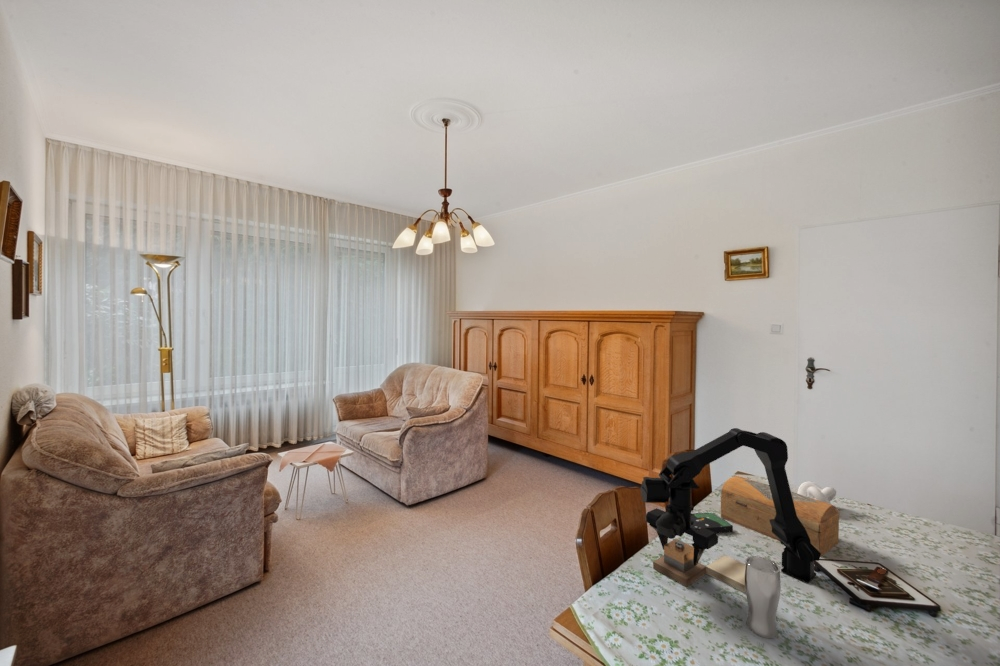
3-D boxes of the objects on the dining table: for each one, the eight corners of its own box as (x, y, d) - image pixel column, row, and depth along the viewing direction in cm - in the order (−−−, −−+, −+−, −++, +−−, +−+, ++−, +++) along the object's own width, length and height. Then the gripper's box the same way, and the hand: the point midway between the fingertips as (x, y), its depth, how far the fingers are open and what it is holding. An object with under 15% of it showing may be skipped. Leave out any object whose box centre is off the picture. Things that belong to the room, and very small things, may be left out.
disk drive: (692, 537, 133) (733, 533, 135) (692, 529, 133) (733, 525, 135) (675, 522, 143) (713, 518, 145) (675, 514, 143) (713, 511, 145)
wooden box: (841, 543, 129) (842, 500, 128) (819, 559, 120) (820, 513, 120) (744, 507, 154) (744, 471, 154) (719, 517, 146) (720, 479, 145)
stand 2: (761, 578, 110) (761, 571, 110) (744, 592, 105) (744, 585, 105) (723, 561, 119) (723, 554, 119) (706, 573, 113) (706, 566, 113)
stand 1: (706, 573, 113) (706, 566, 113) (686, 586, 107) (686, 579, 107) (673, 556, 121) (673, 550, 121) (653, 568, 115) (653, 561, 115)
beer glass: (736, 618, 96) (737, 556, 95) (764, 616, 96) (765, 554, 96) (758, 641, 89) (759, 574, 88) (787, 639, 89) (788, 572, 89)
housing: (695, 565, 113) (695, 544, 113) (684, 573, 110) (684, 551, 110) (675, 555, 118) (675, 535, 118) (663, 562, 115) (664, 541, 114)
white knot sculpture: (793, 508, 153) (794, 484, 153) (800, 498, 161) (801, 476, 161) (831, 518, 145) (832, 493, 145) (837, 508, 153) (837, 484, 153)
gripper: (634, 497, 117) (633, 551, 117) (697, 523, 101) (696, 585, 102) (656, 488, 123) (656, 539, 123) (719, 511, 108) (718, 569, 108)
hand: (679, 557), depth 114 cm, fingers open, 9 cm apart
